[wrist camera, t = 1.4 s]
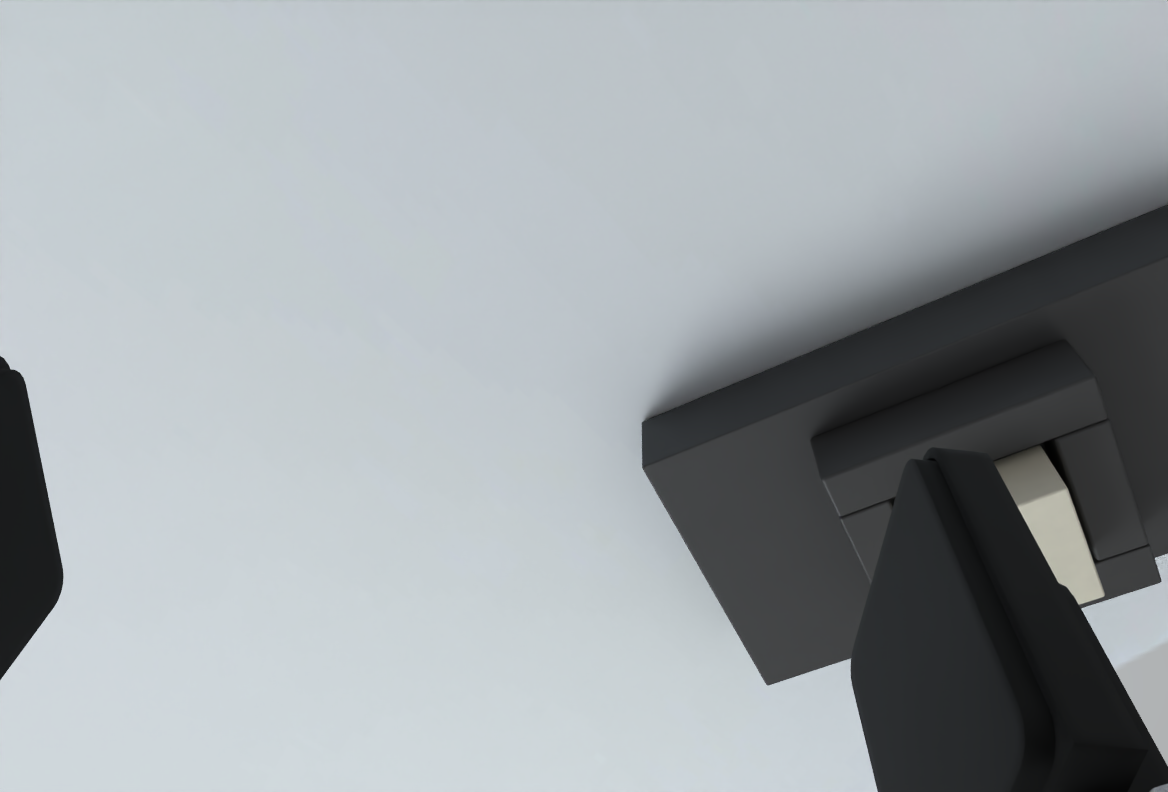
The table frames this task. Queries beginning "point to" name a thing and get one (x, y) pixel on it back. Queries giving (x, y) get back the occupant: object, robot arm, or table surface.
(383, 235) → the table surface
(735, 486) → the key block
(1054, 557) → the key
